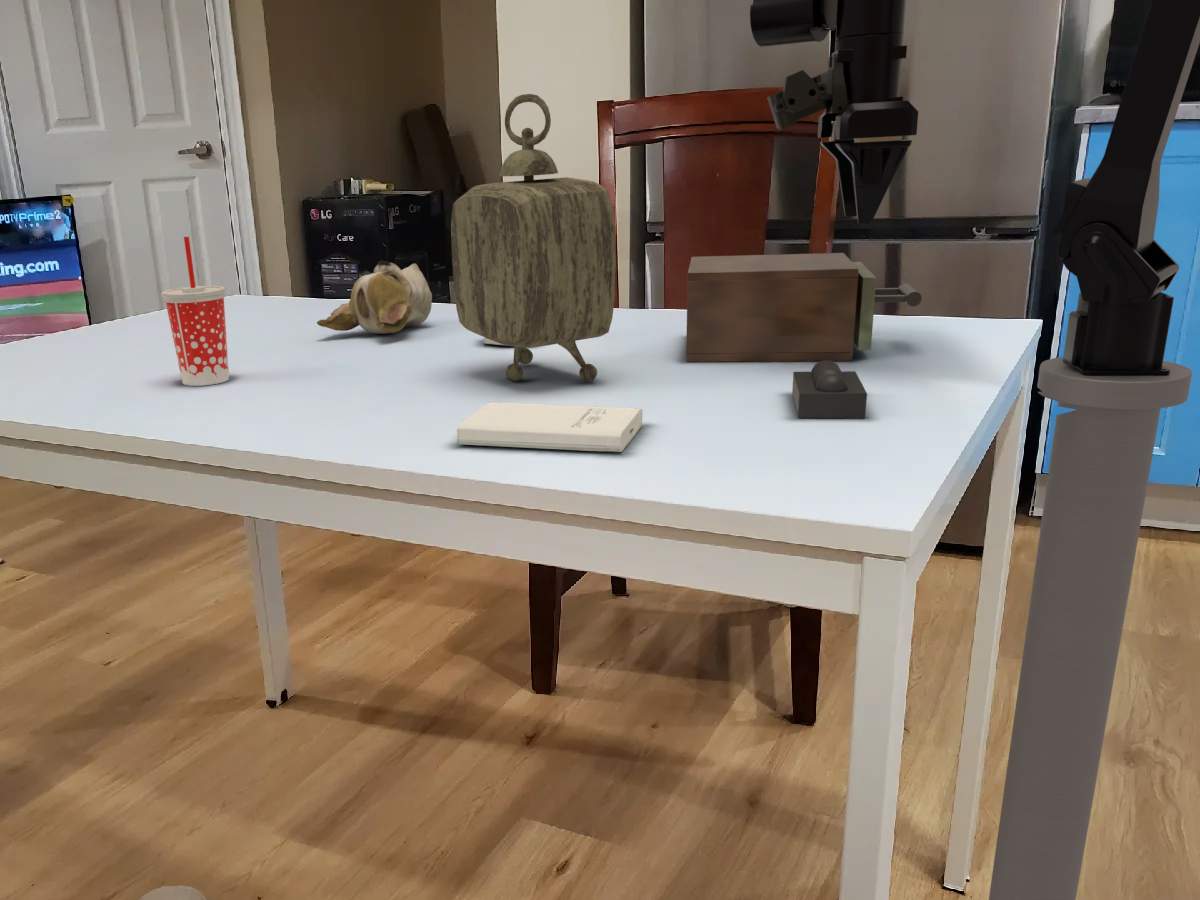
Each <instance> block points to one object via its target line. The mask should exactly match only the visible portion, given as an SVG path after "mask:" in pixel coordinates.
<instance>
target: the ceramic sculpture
mask: <svg viewBox="0 0 1200 900" xmlns="http://www.w3.org/2000/svg"><path fill="white" fill-rule="evenodd" d="M432 303H433V293H432V291H431V290H430V287H429V283H428V282H427V278H426V277H425V275H424V274H423V272H422V271H421V270H420V268H419V266H418V264H417V263H412V264H410V265H409V266H408V267H404V268H403V269H401V268H400V267H399V266H398V265H397V264H395V263H394V262H389V261H386V260H380V261H378V262H377V264H376V266H375V267H374V269H373V272H372V273H368V274H364V275H362V276H360V277H359V278H358V279H357V280H356V281H355V282H354V284H353V287H352V290H351V293H350V299H349V301H348V303H341V304H340V305H339V307H337V308H335V309H334V310H333V311H332V312H330V315H329V316H328V317H326V319H319V320H318V321H316V324H317V326H319V327H323V328H327V329H330V330H333V331H337V332H338V331H339V332H347V331H352V330H353V329H355V328H357V327H358V326H360V328H362V330H364V331H366V332H367V333H371V334H378V335H379V334H381V335H386V334H395V333H398V332H400V331H401V330H403V329H404V327H405V326H407V327H411V326H415V325H421V324H423V323H425V322H426V320H428V317H429V315H430V314H431V311H432V305H433V304H432Z"/></svg>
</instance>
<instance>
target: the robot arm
mask: <svg viewBox="0 0 1200 900" xmlns="http://www.w3.org/2000/svg"><path fill="white" fill-rule="evenodd" d="M906 5H907V0H752V4H750V8H749V21H750V22H749V23H750V30H751V34H752V37H753V40H754V41H755V43H756V44H757V46H759V47H760V48H763V49H764V48H772V47H773V48H774V47H783V46H793V45H801V44H802V45H803V44H812V43H813V44H814V43H820V42H823V41H824V40H826V38H827V36H828V35H829V32H830V31H835V43H834V52H832V53H831V56H828V57H827V58H828V59H827V71H825V72H822V73H820V74H817V75H815V76H813V77H811V76H810V75H809V74H808V73H807V72H806V71H804V69H801V70H799V71H796V72H795V73H792V74H790V75H787V76H785V77H784V83H783V87H782V90H780V91H779V92H776V93H774V94H772V95H769V96H767V97H766V98H767V101H768V105H769V107H770V111H771V115H772V117H773V121H774V124H775V126H776V130H777V131H782V130H784V129H785V130H786V129H787V128H790V127H791V126H794V125H796V124H797V122H798V121H800V120H802V119H805V118H807V117H809V116H812V115H814V114H817V113H819V112H821V111H823V110H824V112H823V113H822V114H820V116H819V117H818V122H817V123H818V124H817V139H818V138H819V139H823V138H825V139H826V138H828V141H819V144H820V146H821V147H822V148H823V149H825V150H826V151H827V152H828V153H829V154H830V155H831V156H832V157H833V159H834V160H835V163H836V168H837V174H838V181H839V186H840V193H841V200H842V207H843V212H844V216H845V217H849V218H850V217H856V218H857V224H859V225H870V224H872V223H873V220H874V218H875V216H876V214H877V212H878V210H879V208H880V206H881V203H882V202H883V200H884V197H885V195H886V193H887V191H888V189H889V188H890V186H891V183H892V181H893V179H894V177H895V175H896V173H897V171H898V169H899V167H900V165H901V163H902V161H903V159H904V157H905V155H906V154H907V152H908V150H909V148H910V147H911V146H912V143H913V140H912V139H902V138H903V137H908V136H917V135H918V134H917V133H918V124H919V123H918V122H919V110H918V109H917V108H916V107H915V106H914V105H913V104H912V103H911V102H910V101H909V100H907V99H906V100H904V96H900V88H901V75H902V74H901V73H902V62H903V61H902V60H904V59H907V52H908V45H904V35H905V34H904V33H905V22H906V21H905V20H906V7H907V6H906ZM1199 46H1200V0H1150V3H1149V7H1148V10H1147V13H1146V17H1145V20H1144V23H1143V26H1142V30H1141V33H1140V36H1139V39H1138V43H1137V46H1136V49H1135V53H1134V56H1133V59H1132V63H1131V66H1130V68H1129V73H1128V75H1127V79H1126V81H1125V85H1124V89H1123V91H1122V96H1121V99H1120V102H1119V104H1118V109H1117V111H1116V114H1115V118H1114V120H1113V121H1114V122H1113V124H1112V128H1111V131H1110V135H1109V138H1108V141H1107V144H1106V147H1105V150H1104V154H1103V157H1102V158H1101V161H1100V163H1099V164H1098V167H1096V170H1094V172H1093V174H1092V176H1091V178H1089V177H1086V178H1081V179H1078V180H1074V181H1070V182H1068V183H1067V186H1066V191H1065V197H1064V205H1063V212H1062V215H1061V217H1060V219H1059V222H1058V223H1057V225H1056V226H1055V227H1054V228H1053V230H1052V232H1051V234H1052V235H1053V236H1054V235H1059V234H1060V235H1059V238H1058V244H1057V252H1058V253H1057V254H1058V258H1059V259H1060V261H1061V262H1062V264H1063V265H1064V267H1065V269H1066V270H1067V271H1068V272H1070V273H1071V274H1072V275H1074V276H1075V277H1076V279H1077V284H1078V288H1079V293H1078V299H1077V306H1076V310H1072V311H1071V312H1069V314H1068V321H1067V327H1066V335H1065V342H1064V349H1063V350H1064V351H1063V356H1062V357H1063V362H1065V363H1066V364H1067V365H1069V366H1070V367H1072V368H1073V369H1074V370H1076V371H1077V372H1079V373H1080V374H1082V375H1084V376H1168V375H1169V374H1170V369H1168V368H1166V367H1164V366H1162V365H1163V361H1164V358H1165V352H1166V347H1167V346H1166V345H1167V340H1168V335H1169V328H1170V323H1171V317H1172V312H1173V305H1174V300H1175V297H1174V296H1172V295H1169V294H1167V293H1164V291H1167V290H1168V288H1169V287H1170V285H1172V282H1173V280H1174V278H1175V277H1176V275H1177V273H1178V272H1179V270H1180V265H1179V264H1178V263H1177V262H1176V260H1175V259H1173V257H1172V256H1171V255H1170V254H1169V253H1168V252H1167V251H1166V250H1165V249H1164V248H1163V247H1162V246H1161V245H1160V244H1159V243H1158V241H1156V240H1155V232H1156V225H1157V218H1158V211H1159V204H1160V184H1161V183H1160V182H1161V181H1160V180H1161V179H1160V178H1161V164H1162V159H1163V156H1164V153H1165V149H1166V147H1167V143H1168V141H1169V137H1170V134H1171V131H1172V128H1173V125H1174V123H1175V119H1176V116H1177V113H1178V110H1179V107H1180V104H1181V101H1182V99H1183V94H1184V92H1185V90H1186V89H1185V88H1186V85H1187V82H1188V81H1189V76H1190V73H1191V70H1192V67H1193V64H1194V62H1195V58H1196V55H1197V52H1198V48H1199Z"/></svg>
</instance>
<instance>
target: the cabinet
mask: <svg viewBox="0 0 1200 900" xmlns="http://www.w3.org/2000/svg"><path fill="white" fill-rule="evenodd" d="M852 262H853V261H852V260H851V259H850V258H849V257H848V256H847V255H846V253H845V252H830V253H829V252H828V253H827V252H825V253H789V254H787V253H785V254H750V255H749V254H747V255H713V256H712V255H708V256H707V255H705V256H704V255H703V256H691V258H690V262H689V267H688V270H687V286H686V287H687V289H686V290H687V291H686V338H685V339H686V341H685V343H686V344H685V348H686V349H685V362H686V363H688V362H689V363H696V362H697V363H698V362H703V363H705V362H707V363H708V362H709V363H710V362H711V363H712V362H715V363H717V362H718V363H719V362H720V363H722V362H725V363H726V362H820V361H823V360H830V361H833V362H852V361H853V353H854V328H855V314H856V300H857V286H858V272H859V269H858V268H857V267H856V266H855V265H854V264H853V263H852Z"/></svg>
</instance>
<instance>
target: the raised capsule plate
mask: <svg viewBox="0 0 1200 900" xmlns="http://www.w3.org/2000/svg"><path fill="white" fill-rule="evenodd" d="M791 391H792V393H791V395H792V399H793V403H794V405H795V406H794V408H795V411H796V415H797V418H799V419H865V418H866V413H867V412H866V411H867V399H868V392H867V391H866V389H865V387H864V386H863V382H861V380H860V378H859V376H858V374H857V372H856V371H855V370H853V371H852V370H851V371H846V370H845V371H842V369H841V368H840V366H839V365H838V363H836V361H830V360H823V361H817V362H816V363H815V364H814V365H813V367H812V368H811V371H793V373H792V390H791Z"/></svg>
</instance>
